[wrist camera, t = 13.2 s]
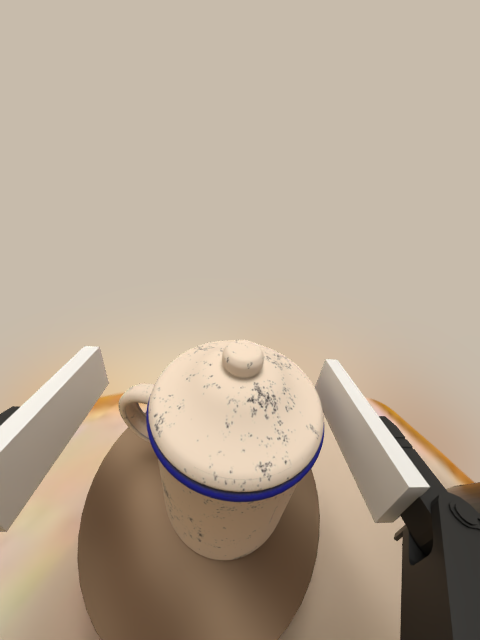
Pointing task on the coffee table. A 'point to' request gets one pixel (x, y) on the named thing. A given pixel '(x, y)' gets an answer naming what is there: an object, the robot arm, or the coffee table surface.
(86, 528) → the walnut riser
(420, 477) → the robot arm
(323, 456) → the coffee table surface
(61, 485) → the coffee table surface
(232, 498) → the teacup with lid
